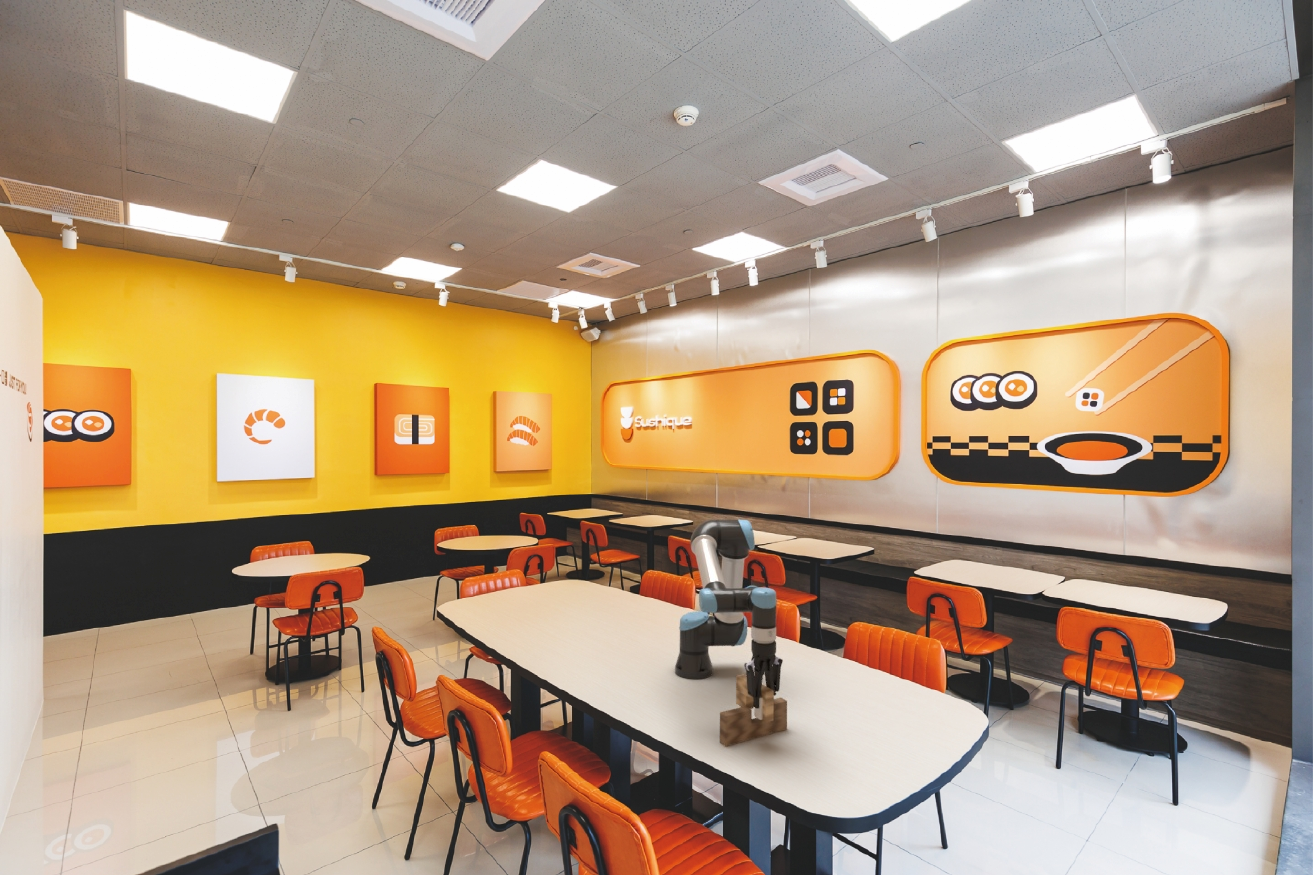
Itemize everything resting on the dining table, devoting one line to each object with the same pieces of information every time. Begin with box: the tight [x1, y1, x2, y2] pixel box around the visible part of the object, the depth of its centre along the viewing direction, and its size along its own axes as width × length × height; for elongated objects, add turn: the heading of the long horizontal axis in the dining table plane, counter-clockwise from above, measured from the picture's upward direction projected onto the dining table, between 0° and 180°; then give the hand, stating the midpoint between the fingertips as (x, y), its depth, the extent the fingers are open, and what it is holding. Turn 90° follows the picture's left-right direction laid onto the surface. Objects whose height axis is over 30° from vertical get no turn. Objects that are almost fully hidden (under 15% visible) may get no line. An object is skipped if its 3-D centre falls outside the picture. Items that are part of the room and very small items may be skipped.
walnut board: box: [719, 697, 788, 747], centre depth 189 cm, size 24×3×9 cm, turn 119°
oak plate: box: [735, 673, 775, 722], centre depth 189 cm, size 15×3×9 cm, turn 29°
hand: (763, 716), depth 185 cm, fingers closed on oak plate, 3 cm apart
